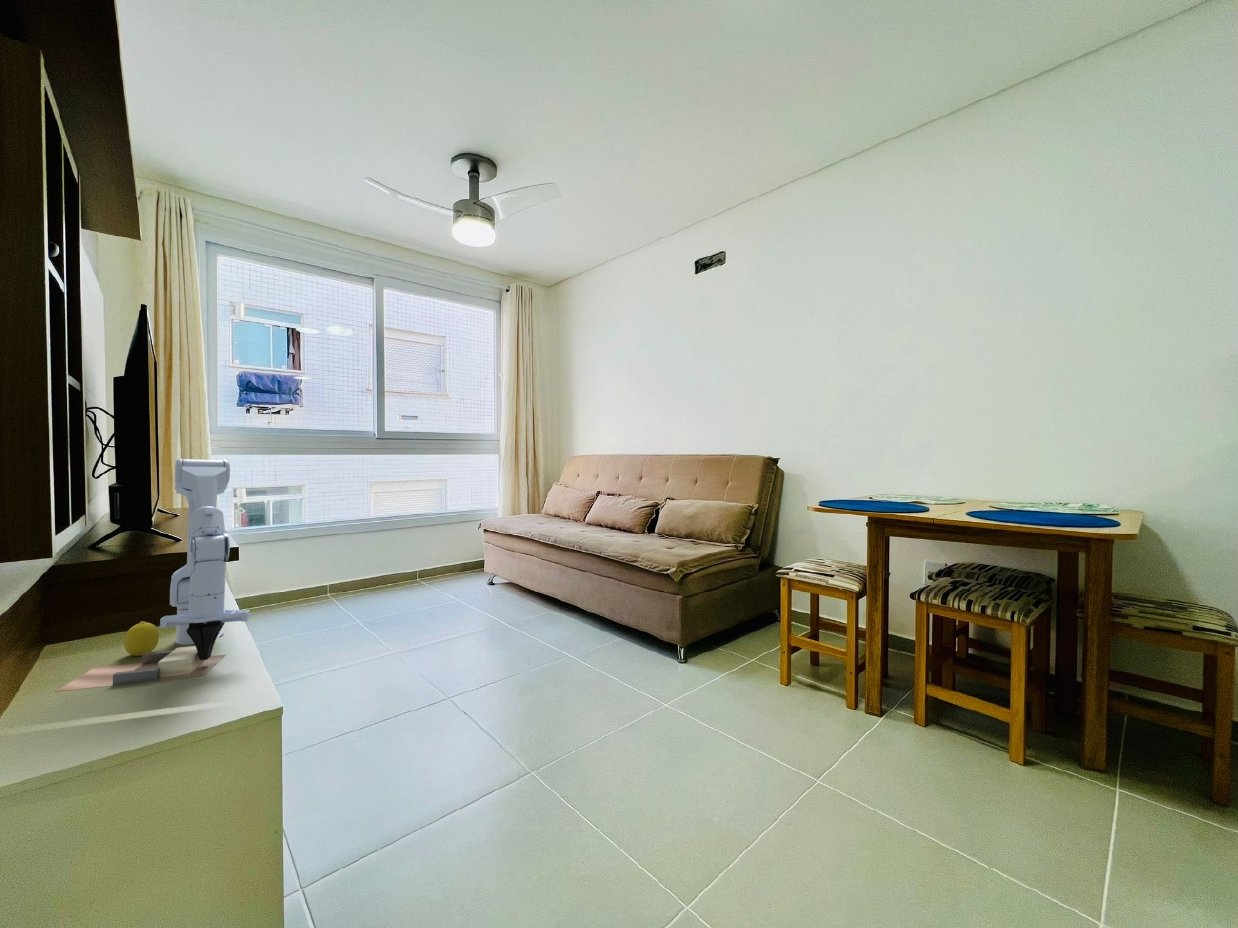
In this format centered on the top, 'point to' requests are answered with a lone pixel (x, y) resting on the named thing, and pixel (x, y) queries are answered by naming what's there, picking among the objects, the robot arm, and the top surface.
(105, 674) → the board
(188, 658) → the block
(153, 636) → the lemon
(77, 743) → the top surface
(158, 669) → the channel
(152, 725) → the top surface
